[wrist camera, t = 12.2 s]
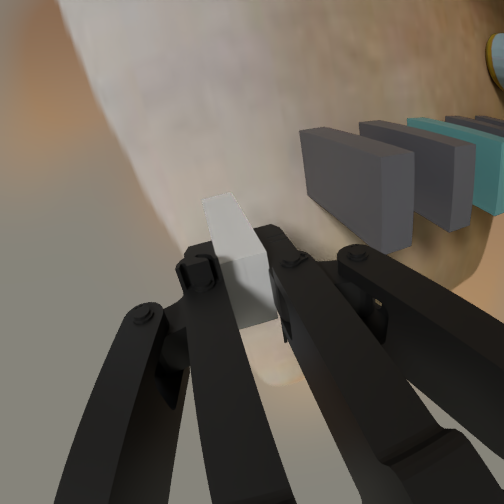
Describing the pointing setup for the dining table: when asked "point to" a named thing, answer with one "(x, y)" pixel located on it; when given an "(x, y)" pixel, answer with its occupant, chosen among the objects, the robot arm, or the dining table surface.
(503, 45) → the bottle
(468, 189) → the domino
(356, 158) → the domino
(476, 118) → the domino
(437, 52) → the dining table surface
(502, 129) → the domino
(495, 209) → the domino
